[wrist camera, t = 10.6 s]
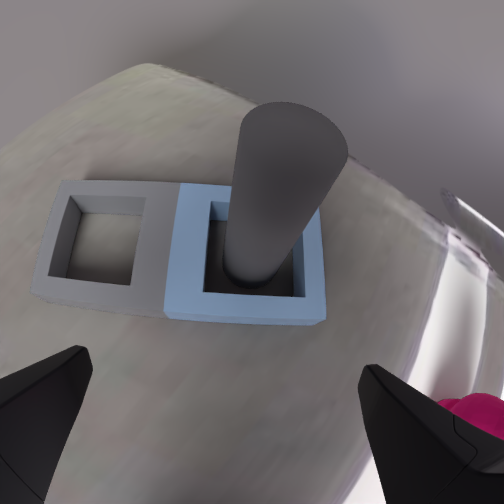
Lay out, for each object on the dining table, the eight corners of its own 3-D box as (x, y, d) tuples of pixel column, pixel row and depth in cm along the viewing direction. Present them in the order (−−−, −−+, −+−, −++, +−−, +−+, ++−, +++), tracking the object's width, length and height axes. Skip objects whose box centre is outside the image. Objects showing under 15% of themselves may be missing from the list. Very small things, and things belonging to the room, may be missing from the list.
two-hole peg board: (306, 213, 26) (317, 195, 23) (312, 325, 22) (326, 319, 20) (73, 198, 24) (61, 180, 21) (47, 302, 20) (29, 292, 17)
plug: (286, 275, 24) (367, 166, 11) (236, 297, 22) (274, 194, 10) (261, 230, 25) (310, 97, 12) (213, 248, 24) (222, 112, 11)
